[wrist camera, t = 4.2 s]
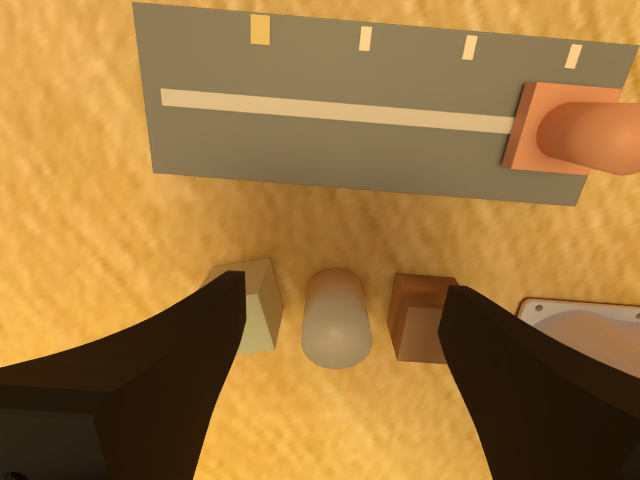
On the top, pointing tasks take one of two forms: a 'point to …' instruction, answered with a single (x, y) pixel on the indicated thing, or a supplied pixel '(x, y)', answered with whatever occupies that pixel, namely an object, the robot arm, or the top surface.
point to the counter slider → (574, 131)
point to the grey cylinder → (335, 320)
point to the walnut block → (417, 317)
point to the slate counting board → (353, 101)
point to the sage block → (257, 304)
